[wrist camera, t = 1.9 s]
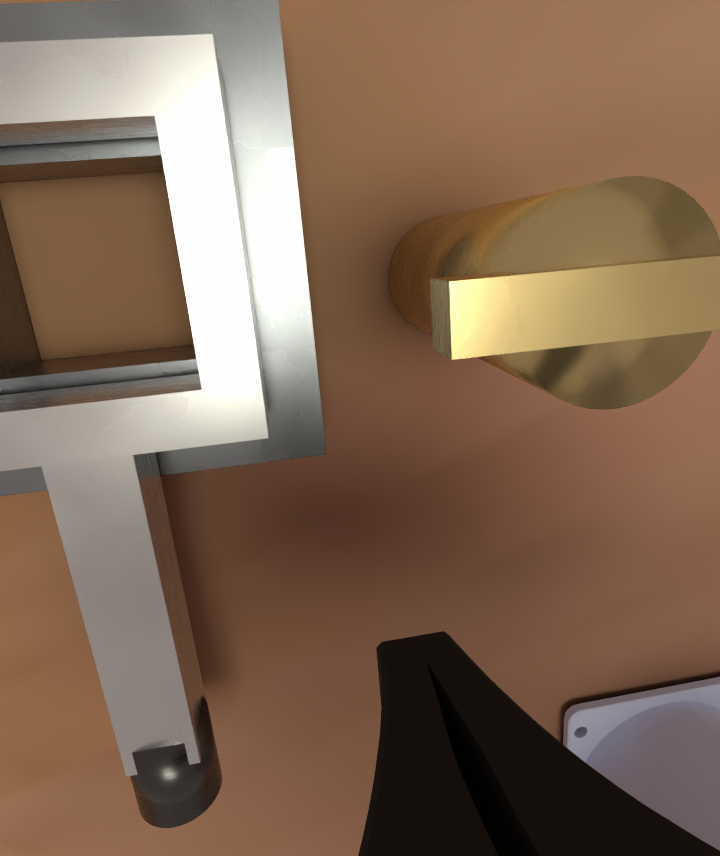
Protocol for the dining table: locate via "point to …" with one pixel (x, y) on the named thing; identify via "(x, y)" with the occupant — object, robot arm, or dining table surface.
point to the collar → (143, 394)
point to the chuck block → (254, 163)
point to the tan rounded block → (569, 288)
